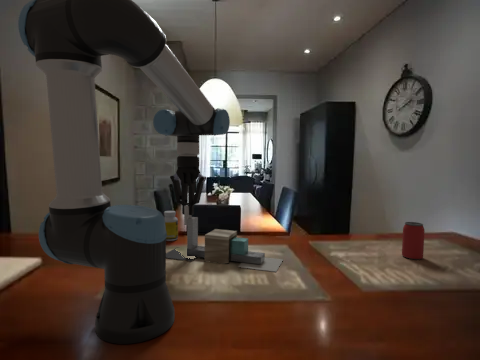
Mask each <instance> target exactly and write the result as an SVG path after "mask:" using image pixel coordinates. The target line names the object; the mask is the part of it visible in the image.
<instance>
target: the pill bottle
mask: <svg viewBox="0 0 480 360" xmlns="http://www.w3.org/2000/svg"><path fill="white" fill-rule="evenodd" d="M163 216H164V218H165V227H166V232H167V237H166V242H173V241H174V242H175V241H176V240H178V238H179V220H178V217H176V211H175V210H165V211H164V212H163Z"/></svg>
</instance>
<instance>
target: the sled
mask: <svg viewBox="0 0 480 360" xmlns="http://www.w3.org/2000/svg"><path fill="white" fill-rule="evenodd" d="M186 229H187V230H186V231H187V233H186V234H187V235H186V244H187V245H186V248H187V256H195V257H197V258H204V259H205V245H204V246H202V245H199V239H198V237H199V235H198V234H199V232H198V231H199V217H198V216H192V217H191V218H189V219H187V225H186ZM265 255H266V253H265V252H261V251H260V252H259V251H250V250H249V238H247V237H238V236H237V237H234V238H233V239H231V240H230V249H229V262H230V261H231V262H239V263H242V262H245V263H254V264H262V262H263V261H264V260H265V257H266V256H265Z"/></svg>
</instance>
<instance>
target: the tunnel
mask: <svg viewBox="0 0 480 360" xmlns="http://www.w3.org/2000/svg"><path fill="white" fill-rule="evenodd" d="M234 237H238V230H229V229H218V228H214V229H213V230H211V231H210V232H209V231H208V232H207V233H206V234H204V246H205V258H204V262H205V261H210V262H209V263H213V262H218V263H217V264H221V263H230V261H229V249H230V240H231V239H233V238H234Z"/></svg>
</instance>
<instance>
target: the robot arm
mask: <svg viewBox="0 0 480 360" xmlns="http://www.w3.org/2000/svg"><path fill="white" fill-rule="evenodd" d="M17 27H18V33H19V37H20V38H21V39H20V40H21V41H22V43H23V45H24V46H26V47H27V50H28V52H29V54H31V55H32V56H33V57H35V66H36V67H37V68H39V69H40V70H41V71H42V72H43V73H44V74H45V80H46V88H47V89H46V90H47V99H48V113H49V123H50V125H49V126H50V133H51V146H52V157H53V168H54V169H53V170H54V179H55V180H54V181H55V189H56V190H55V192H56V195H55V197H54V198H53V199H52V200H51V201H50V202H49V204H48V209H49V210H48V213H46V214H45V215H44V217H43V221H41V222H40V225H39V227H38V240H39V244H40V247H41V249H42V250H43V252H44V253H45V254H46V255H47V256H48V257H50V258H52V259H54V260H56V261H59V262H61V263H64V264H68V265H79V266H85V267H90V268H91V267H92V268H97V269H103V270H104V289H103V294H102V297H101V300H100V302H99V305H98V309H97V312H96V315H95V321H94V323H95V325H94V326H95V328H94V329H95V334H96V336H97V337H98V338H99V339H101V340H102V341H105V342H107V343H110V344H117V345H118V344H119V345H123V344H124V345H128V344H137V343H143V342H147V341H149V340H152V339H155V338H157V337H159V336H161V335H163V334H164V333H166V332H167V331H168V330H169V329H170V328H171V327H172V326H173V324H174V322H175V313H176V312H175V306H174V303H173V301H172V297H171V294H170V292H169V289H168V286H167V285H168V284H167V282H166V281H167V278H166V275H167V269H166V267H167V260H166V259H167V258H166V253H167V241H166V237H167V232H166V227H165V218H164V217H165V215H164V213H162V212H161V211H160V210H158V209H156V208H153V207H150V206H149V207H148V206H144V205H139V204H137V205H134V204H133V205H132V204H117V205H112V206H111V198H110V197H109V196H107V195H106V194H105V193H104V192H103V184H102V170H101V169H102V168H101V167H102V166H101V156H100V154H101V153H100V140H99V127H98V111H97V110H98V109H97V100H96V96H97V94H96V84H95V83H96V82H95V78H96V77H97V76H98V75H99V74H100V73H102V71H103V69H102V68H103V67H102V66H103V65H102V56H103V57H104V56H109V55H112V56H117V57H119V58H121V59H123V60H124V61H125V62H126V63H127V64H128V65H130V67H133V68H134V69H135V68H136V69H140V70H141V72H143V73H144V74H145V76H146V77H147V78H148V79H150V81H151V82H152V83H153V84H154V85H156V87H157V88H158V90H160V91H161V92H162V93H163V94H164V95H165V96H166V98H167V99H168V100H170V102H172V103H173V104H174V106H175V107H176V108H177V110H171V109H165V108H164V109H159V110H158V111H157V112H156V113H155V114H154V115H153V119H152V121H153V122H152V124H153V128H154V130H155V131H156V132H157V133H158V134H160V135H164V136H167V137H168V136H170V137H176V139H177V140H176V141H177V142H176V154H177V155H178V156H177V157H176V167H177V169H176V171H175V174H173V175H170V177H169V178H170V180H171V182H172V186H173V190H174V195H175V200H176V203H177V204H179V205H181V214H182V215H183V216H184V217H183V218H184V219H183V221H184V222H183V225H184V226H187V219H189V218H191V217H193V215H194V214H195V205H198V204H199V203H200V201H201V196H202V194H203V193H202V192H203V188H204V184H205V182H206V180H207V176H204V175H202V174H201V170H200V157H199V155H200V136H213V137H215V136H223V135H226V134H227V133H228V131H229V130H230V125H231V124H230V122H231V121H230V120H231V119H230V115H229V112H228V110H226V109H224V108H219V107H218V108H215V107H214V106H213V105H212V103H211V102H210V101H209V100H208V98H207V97H206V95H205V94H204V93H203V92H202V90H201V89H200V87H199V86H198V85H197V84H196V82H195V81H194V79H193V78H192V77H191V75H190V74H189V73H188V71H187V70H186V69H185V67H184V66H183V65H182V63H181V62H180V61H179V59H178V58H177V56H176V55H175V53H173V51H172V50H171V49H170V48H169V45H167V37H166V34H165V32H164V31H163V30H162V28H161V27H160V26H159V24H158V23H157V21H156V20H155V19H154V18H152V16H151V15H150V14H149V13H147V11H145V10H144V9H143V7H141V6H140V5H139V4H137V3H136V2H134V1H133V0H30V1H28V2H27V3H25V5H23V7H22V8H21V10H20V12H19V15H18V26H17ZM179 180H180V181H179ZM196 181H197V184H196ZM195 187H196V189H195Z"/></svg>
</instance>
